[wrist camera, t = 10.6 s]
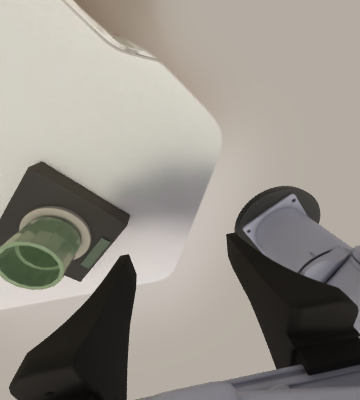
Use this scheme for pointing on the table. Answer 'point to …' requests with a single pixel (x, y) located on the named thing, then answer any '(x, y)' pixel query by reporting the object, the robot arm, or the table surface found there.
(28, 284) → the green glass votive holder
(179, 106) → the table surface
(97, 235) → the scale
